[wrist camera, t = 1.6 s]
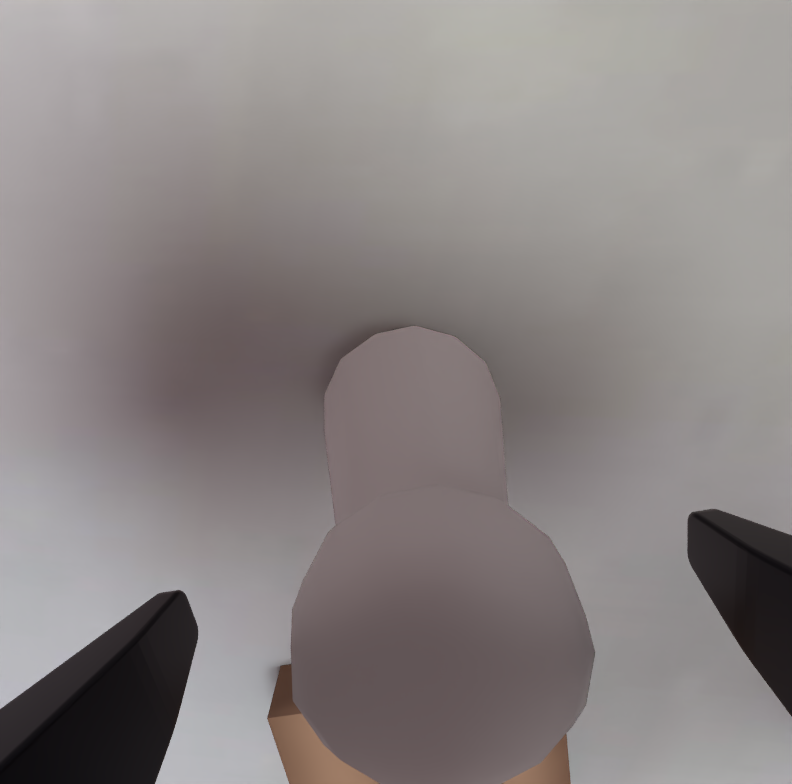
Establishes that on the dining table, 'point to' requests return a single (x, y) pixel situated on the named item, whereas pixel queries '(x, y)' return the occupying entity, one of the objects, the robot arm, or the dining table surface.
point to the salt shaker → (432, 581)
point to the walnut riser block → (335, 780)
